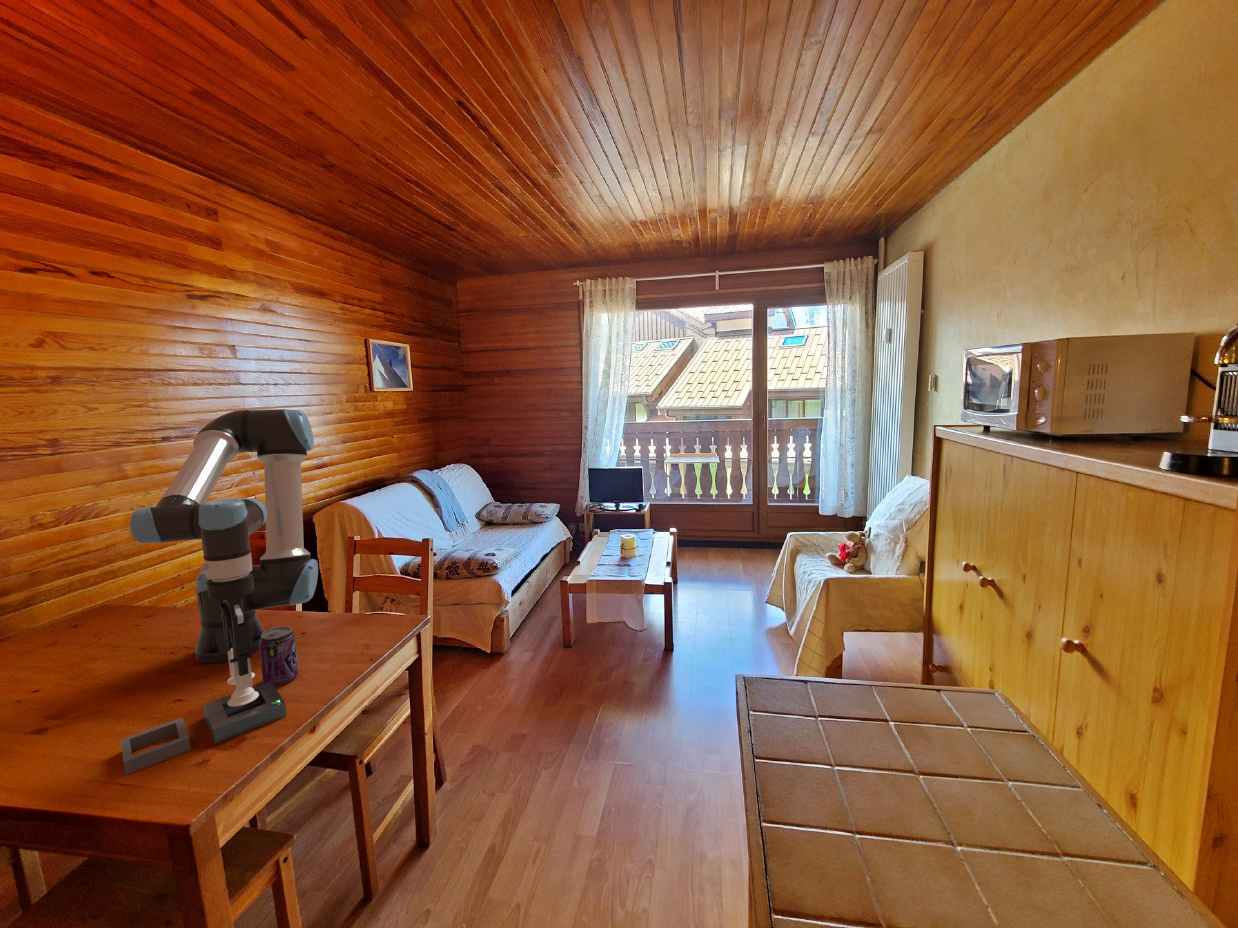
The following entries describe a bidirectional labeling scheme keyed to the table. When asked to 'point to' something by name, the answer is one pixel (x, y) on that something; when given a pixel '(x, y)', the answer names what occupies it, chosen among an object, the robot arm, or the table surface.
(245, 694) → the candle
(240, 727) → the port block
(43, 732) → the table surface
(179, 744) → the grey square frame
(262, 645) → the beverage can
